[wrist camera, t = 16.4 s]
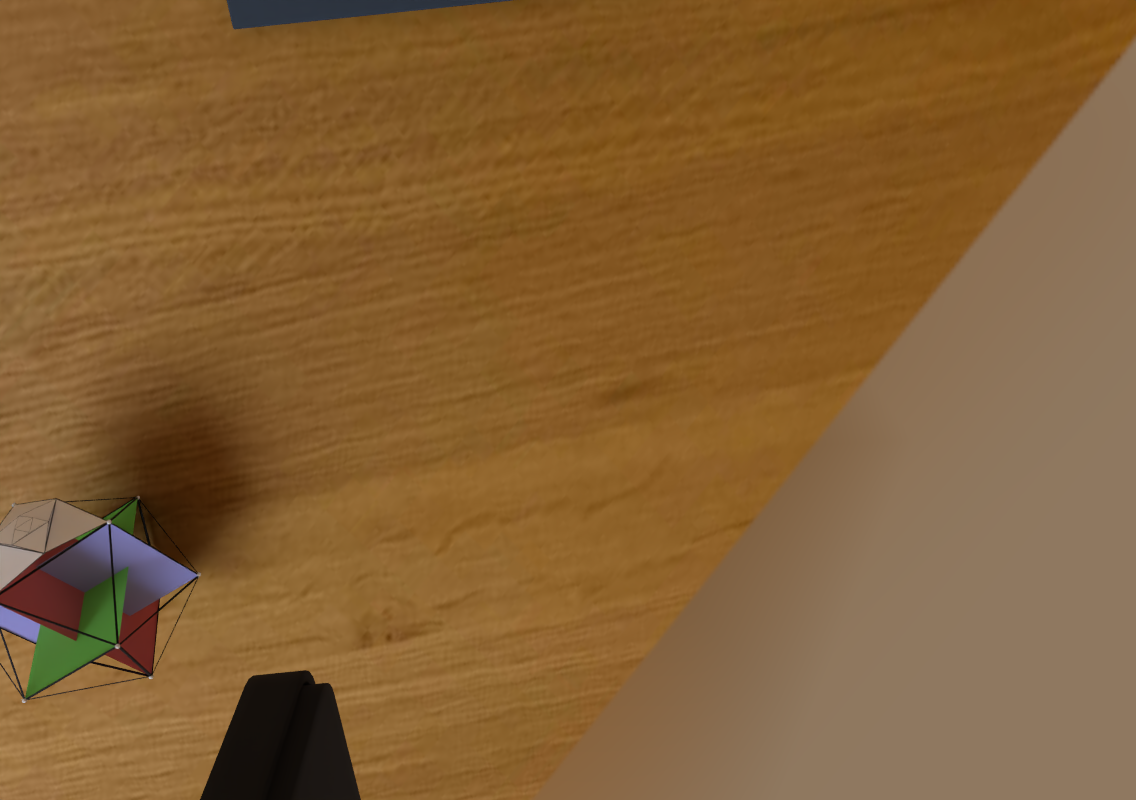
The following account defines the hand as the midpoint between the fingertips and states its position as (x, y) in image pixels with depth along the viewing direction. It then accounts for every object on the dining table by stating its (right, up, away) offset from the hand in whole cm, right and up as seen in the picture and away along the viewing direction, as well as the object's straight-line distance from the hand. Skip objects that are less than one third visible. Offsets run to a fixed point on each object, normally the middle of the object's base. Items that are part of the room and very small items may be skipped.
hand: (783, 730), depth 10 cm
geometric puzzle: (-20, -2, +27) cm, 34 cm away
